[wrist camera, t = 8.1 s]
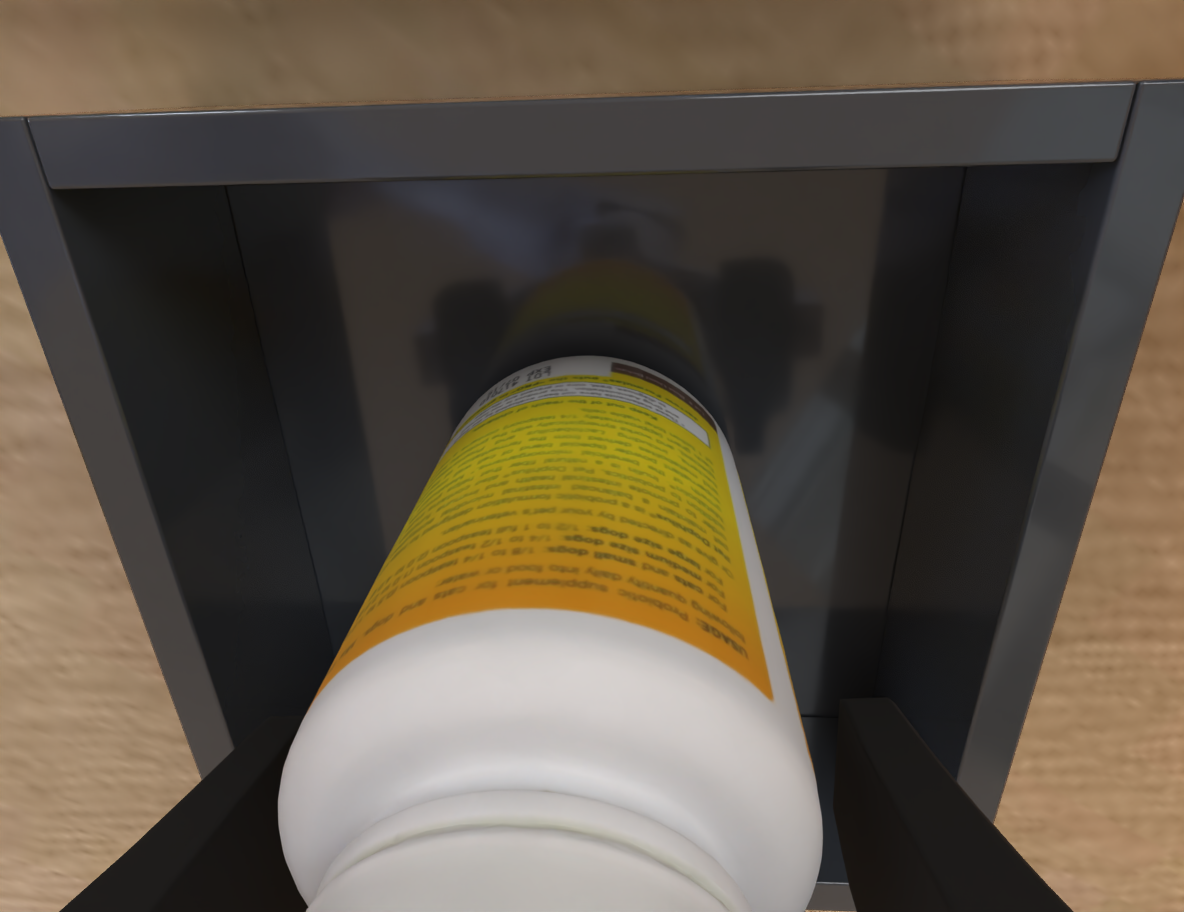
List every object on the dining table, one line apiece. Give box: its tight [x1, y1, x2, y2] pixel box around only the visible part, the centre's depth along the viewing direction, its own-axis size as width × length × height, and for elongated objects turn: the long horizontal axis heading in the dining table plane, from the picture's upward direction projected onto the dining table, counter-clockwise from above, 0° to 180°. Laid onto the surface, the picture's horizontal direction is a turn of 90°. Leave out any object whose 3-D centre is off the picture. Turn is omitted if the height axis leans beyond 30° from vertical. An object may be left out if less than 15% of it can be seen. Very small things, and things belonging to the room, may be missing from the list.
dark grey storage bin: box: [0, 78, 1184, 912], centre depth 13 cm, size 14×14×5 cm
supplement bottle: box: [278, 356, 823, 912], centre depth 10 cm, size 6×6×10 cm
